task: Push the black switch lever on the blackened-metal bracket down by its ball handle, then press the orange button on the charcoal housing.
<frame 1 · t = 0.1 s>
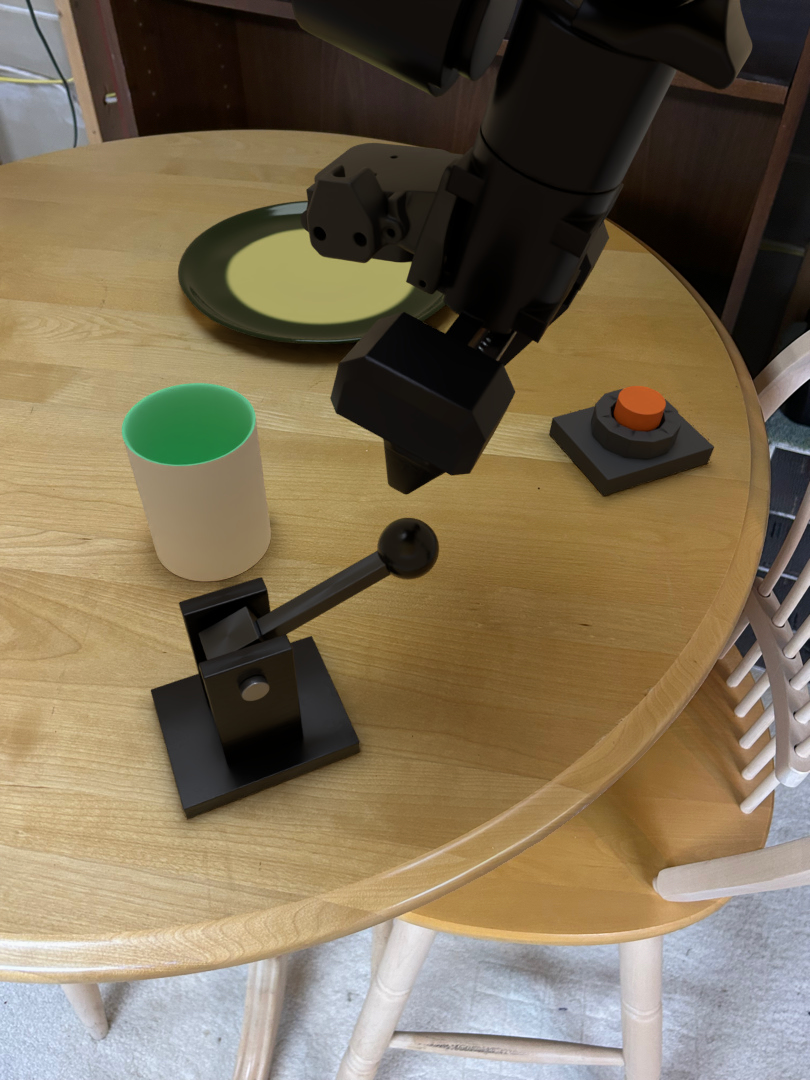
hand: (435, 434, 42), 15 cm above the table, tool pointing down, fingers open, 9 cm apart
mug: (210, 520, 58), on the table
button box: (627, 448, 65), on the table
switch: (255, 725, 47), on the table
plate: (323, 285, 81), on the table
lever: (325, 596, 41), point 10 cm above the table, hinge at 20.0°
button: (639, 408, 62), point 4 cm above the table, slide at 0.1 cm
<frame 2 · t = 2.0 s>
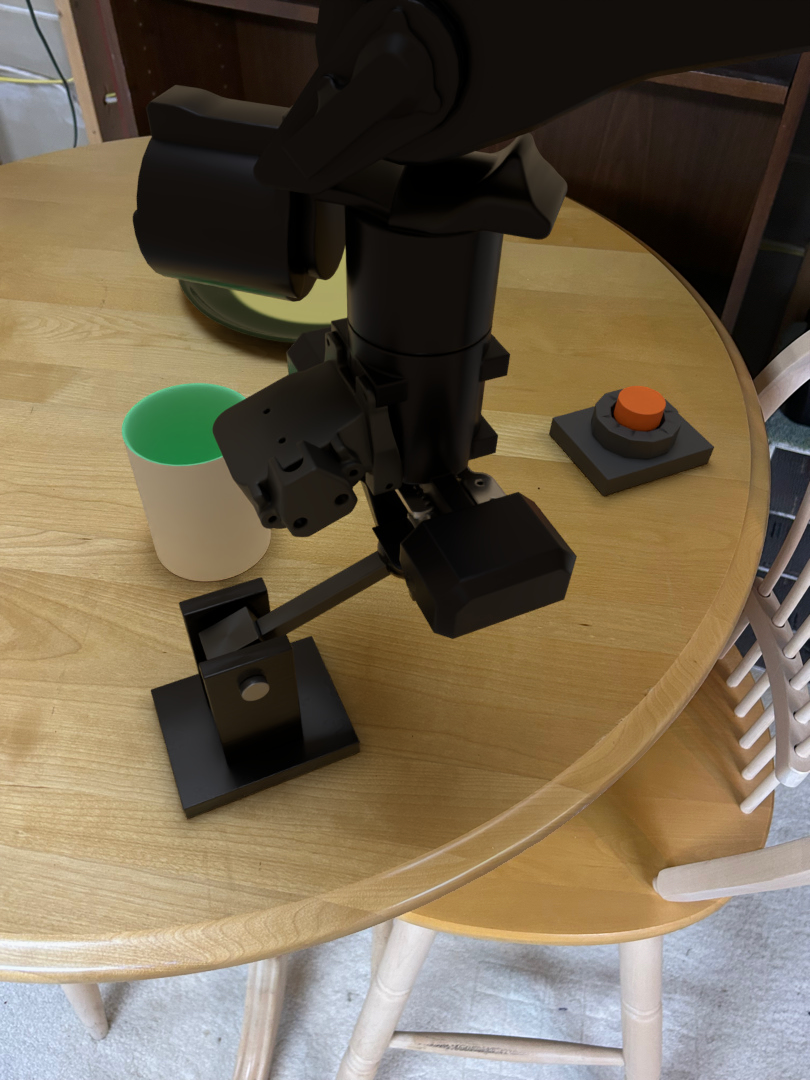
hand: (407, 573, 43), 9 cm above the table, tool pointing down, fingers closed on lever, 3 cm apart
lever: (325, 596, 41), point 10 cm above the table, hinge at 20.0°, touching gripper
everything else where it was.
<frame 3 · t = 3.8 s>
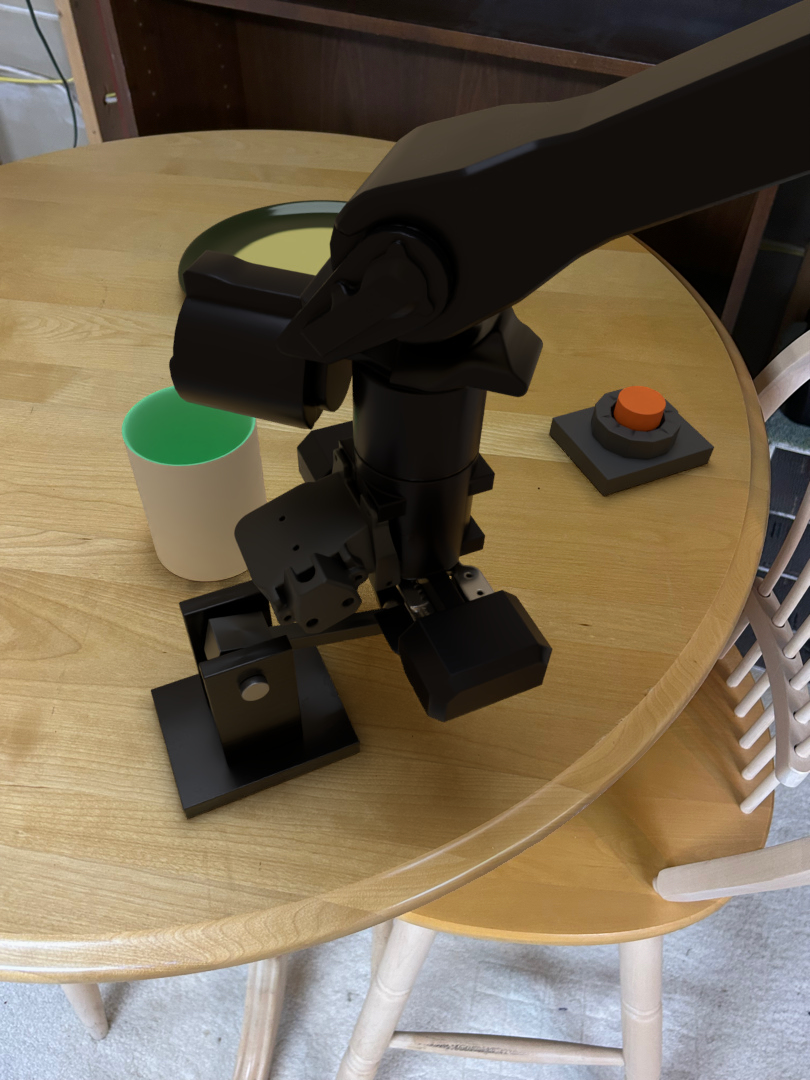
hand: (404, 642, 48), 3 cm above the table, tool pointing down, fingers closed on lever, 3 cm apart
lever: (330, 630, 43), point 7 cm above the table, hinge at -14.2°, touching gripper
everything else where it was.
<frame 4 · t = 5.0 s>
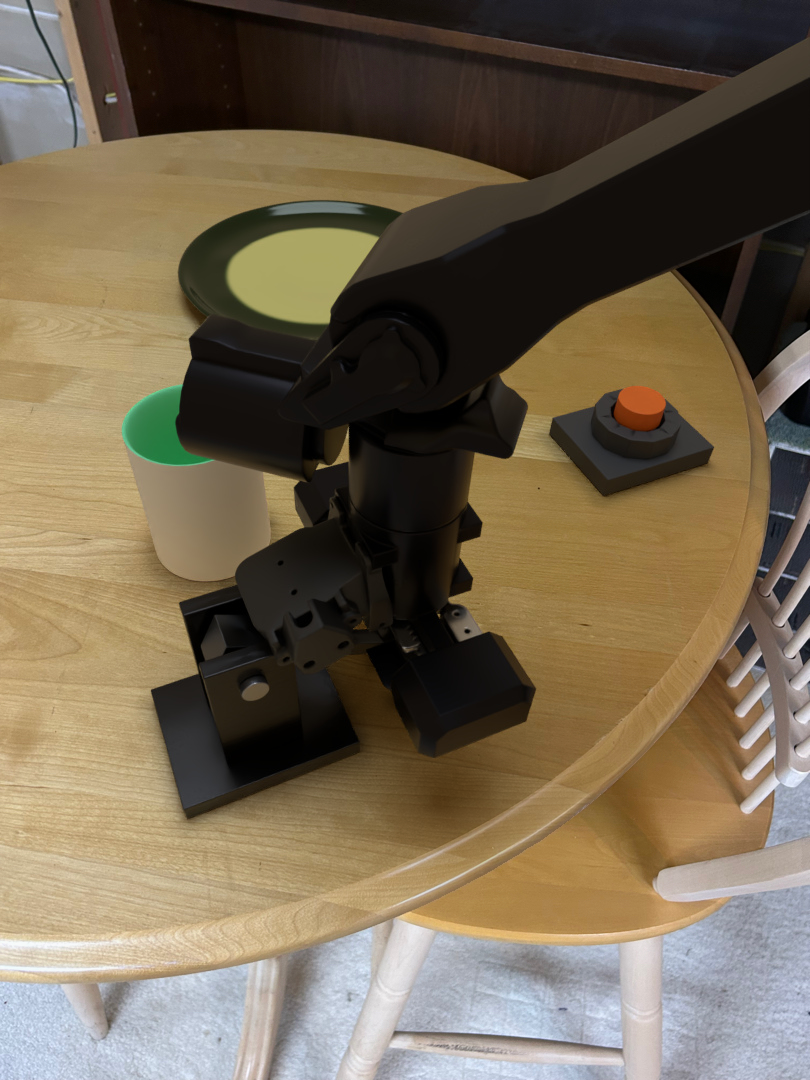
hand: (395, 673, 50), 0 cm above the table, tool pointing down, fingers closed on lever, 3 cm apart
lever: (324, 643, 44), point 6 cm above the table, hinge at -26.1°, touching gripper
everything else where it was.
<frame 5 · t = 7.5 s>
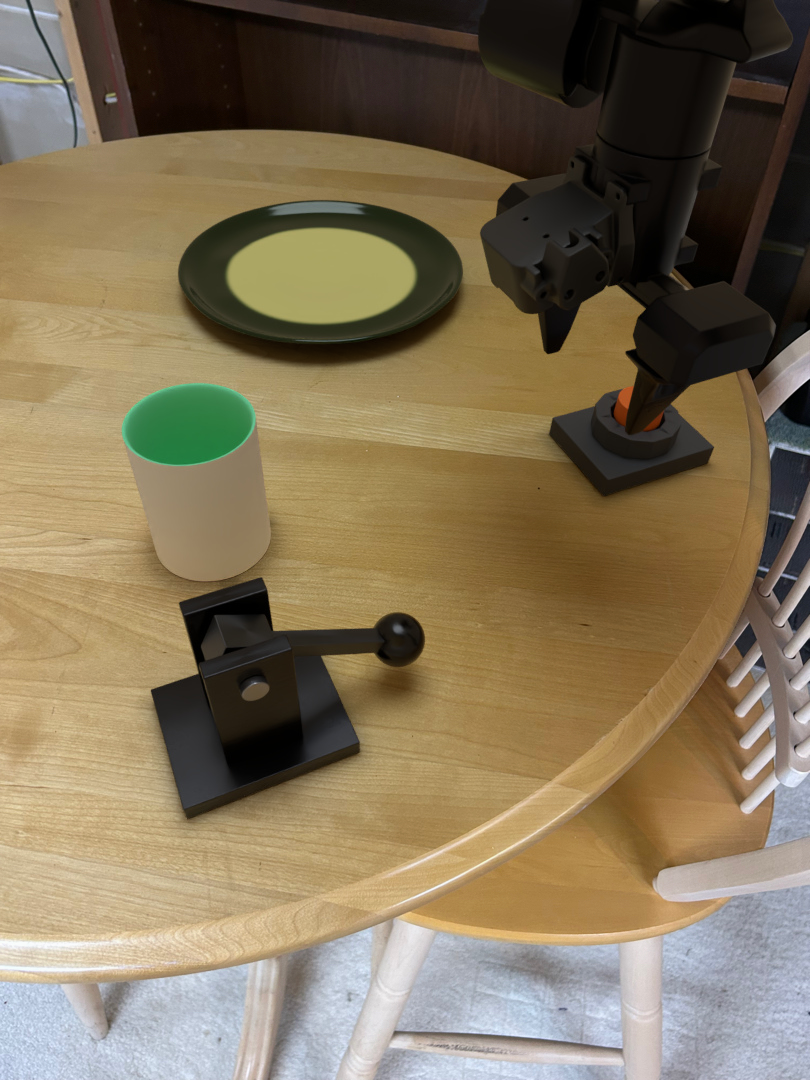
hand: (590, 390, 52), 11 cm above the table, tool pointing down, fingers open, 9 cm apart
lever: (325, 642, 44), point 6 cm above the table, hinge at -25.6°
everything else where it was.
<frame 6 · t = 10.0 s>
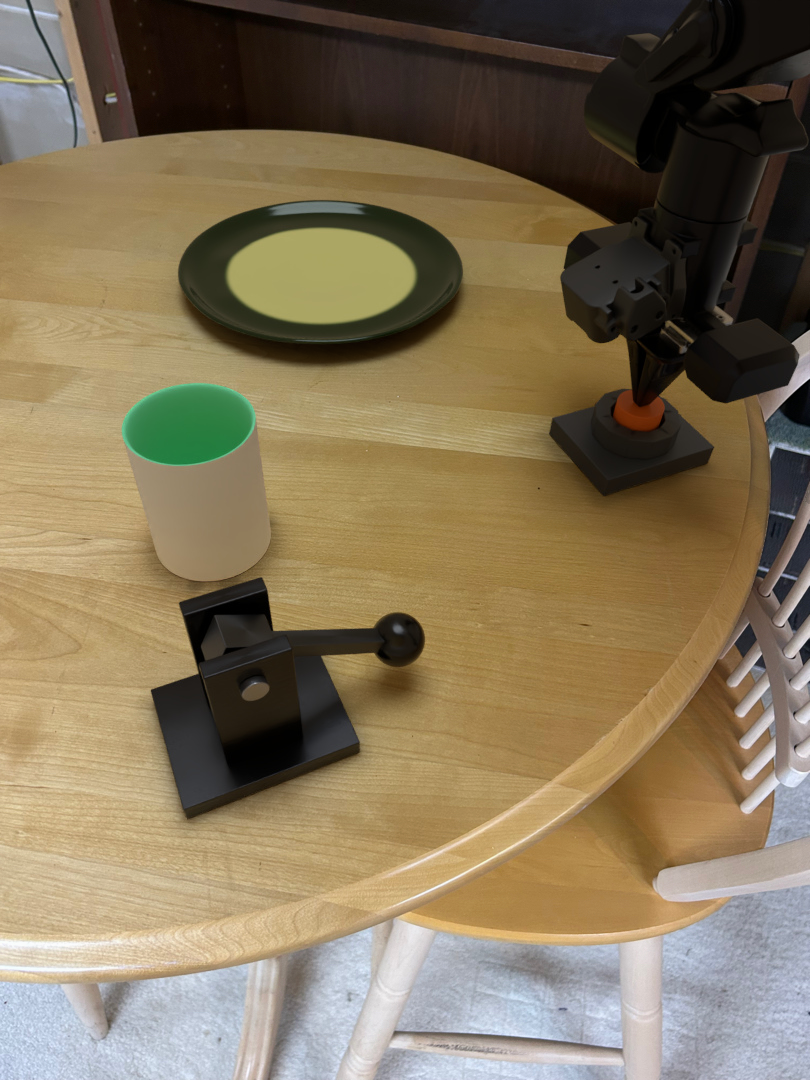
hand: (641, 403, 62), 5 cm above the table, tool pointing down, fingers closed, pressing on button
button: (638, 412, 62), point 4 cm above the table, slide at -0.2 cm, touching gripper
everything else where it was.
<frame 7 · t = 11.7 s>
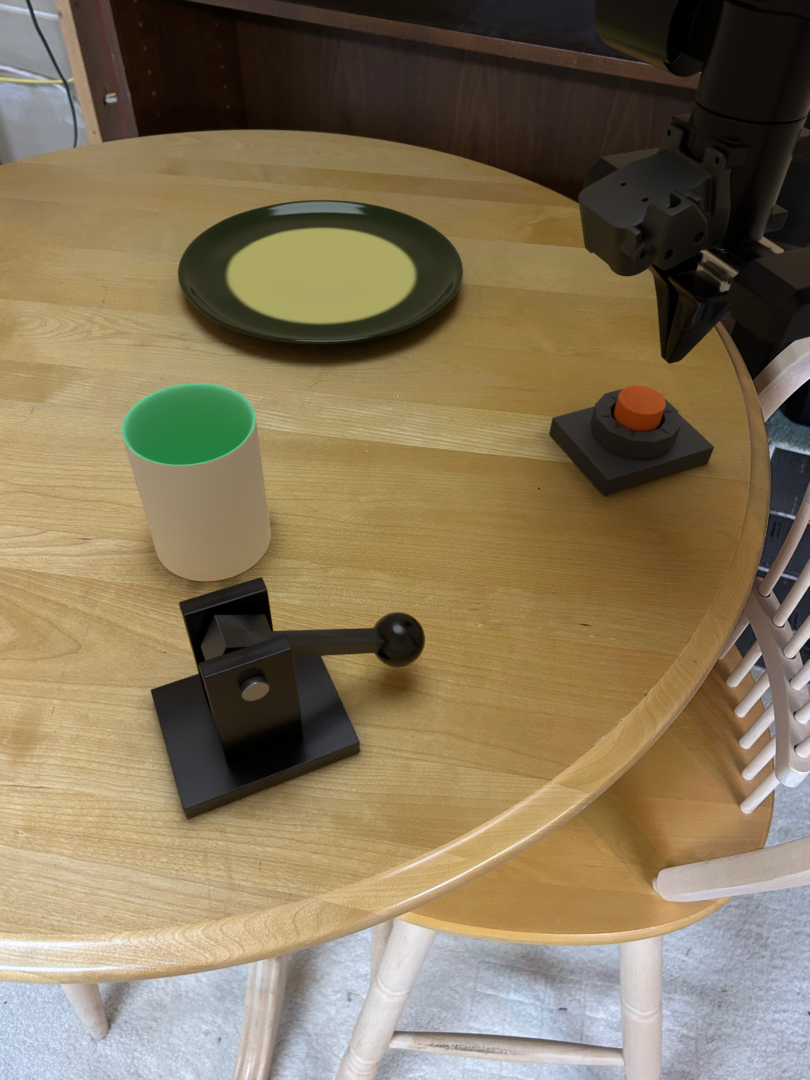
hand: (670, 359, 53), 12 cm above the table, tool pointing down, fingers closed
button: (639, 408, 62), point 4 cm above the table, slide at 0.1 cm
everything else where it was.
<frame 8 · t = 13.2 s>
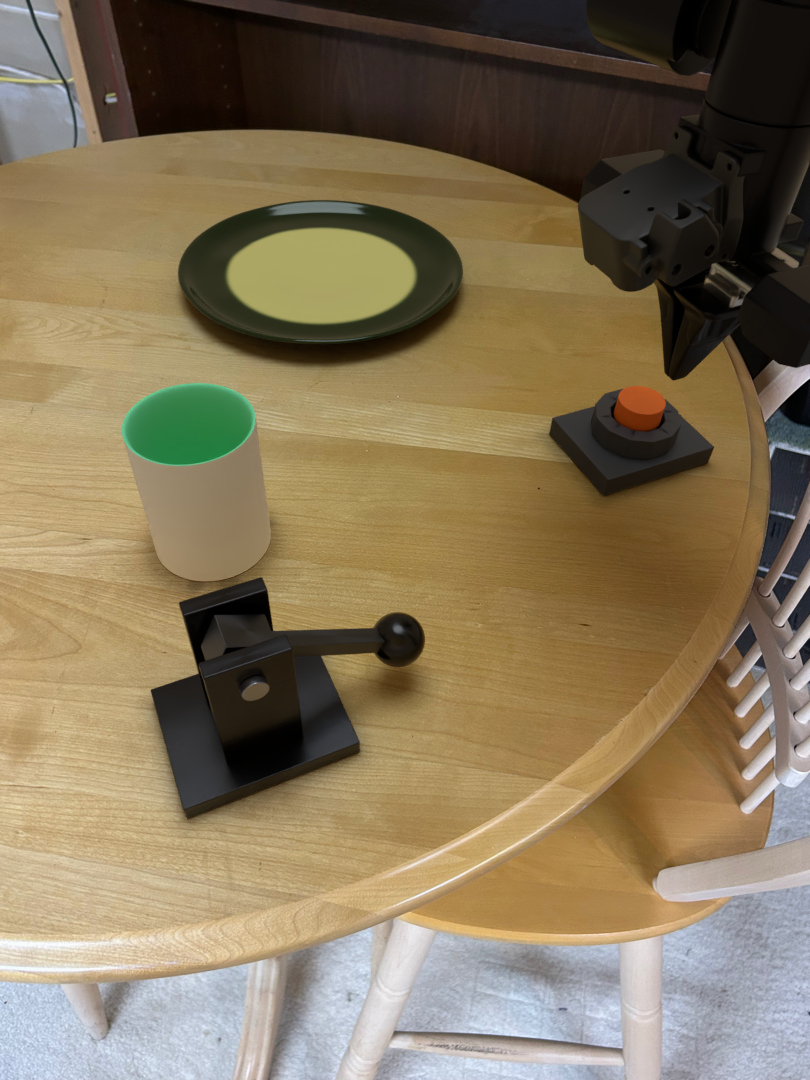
hand: (674, 376, 50), 13 cm above the table, tool pointing down, fingers closed
nothing on the table moved.
at the end: lever at -26° (first picture: +20°); button pushed in 1.1 cm at the most during the clip, back to where it started at the end; button slide at 0.1 cm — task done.
